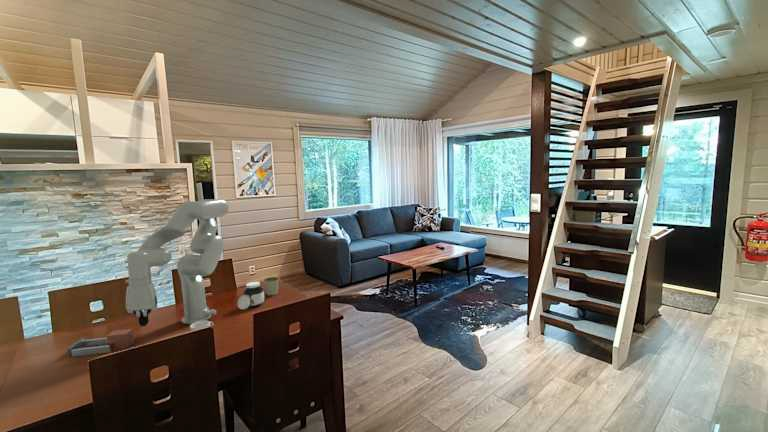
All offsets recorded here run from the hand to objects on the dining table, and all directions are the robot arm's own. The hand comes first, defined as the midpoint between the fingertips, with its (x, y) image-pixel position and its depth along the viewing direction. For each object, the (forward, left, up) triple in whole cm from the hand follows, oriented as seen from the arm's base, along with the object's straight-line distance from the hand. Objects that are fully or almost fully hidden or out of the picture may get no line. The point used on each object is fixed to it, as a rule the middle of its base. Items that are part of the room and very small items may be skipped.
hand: (144, 325), depth 148 cm
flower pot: (-47, -49, -8) cm, 68 cm away
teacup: (-21, -2, -8) cm, 23 cm away
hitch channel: (+19, -1, -8) cm, 20 cm away
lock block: (+9, -1, -8) cm, 13 cm away
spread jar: (-38, -32, -8) cm, 50 cm away
